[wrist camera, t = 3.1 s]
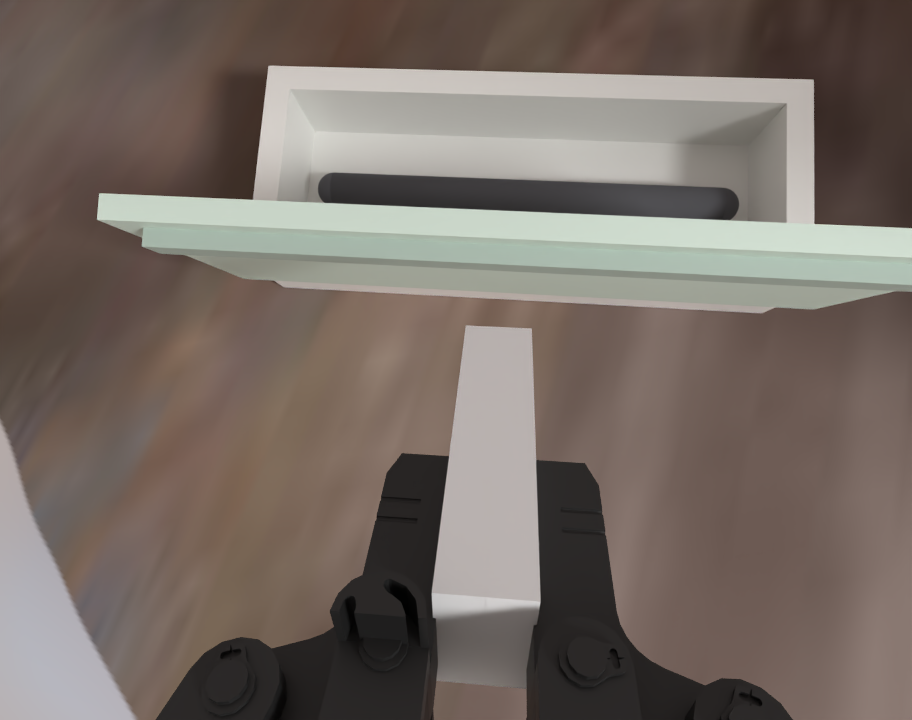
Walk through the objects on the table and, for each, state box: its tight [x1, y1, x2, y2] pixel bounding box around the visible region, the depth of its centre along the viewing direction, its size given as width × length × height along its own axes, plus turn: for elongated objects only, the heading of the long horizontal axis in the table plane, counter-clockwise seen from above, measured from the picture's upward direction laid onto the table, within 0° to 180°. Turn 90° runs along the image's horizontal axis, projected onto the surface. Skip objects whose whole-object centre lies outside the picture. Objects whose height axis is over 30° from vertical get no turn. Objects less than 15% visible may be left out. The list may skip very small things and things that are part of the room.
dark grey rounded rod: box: [318, 172, 739, 220], centre depth 30 cm, size 22×2×2 cm, turn 86°
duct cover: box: [97, 193, 912, 309], centre depth 21 cm, size 26×10×1 cm
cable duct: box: [253, 66, 814, 313], centre depth 29 cm, size 26×10×5 cm, turn 86°
